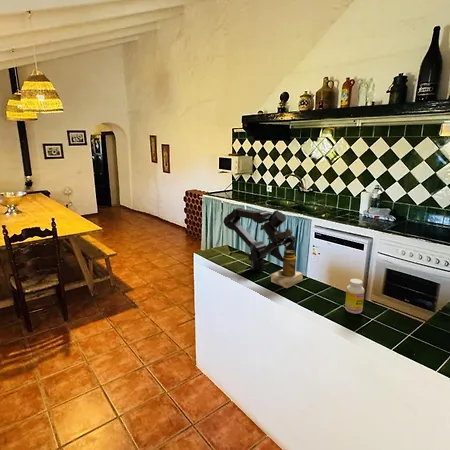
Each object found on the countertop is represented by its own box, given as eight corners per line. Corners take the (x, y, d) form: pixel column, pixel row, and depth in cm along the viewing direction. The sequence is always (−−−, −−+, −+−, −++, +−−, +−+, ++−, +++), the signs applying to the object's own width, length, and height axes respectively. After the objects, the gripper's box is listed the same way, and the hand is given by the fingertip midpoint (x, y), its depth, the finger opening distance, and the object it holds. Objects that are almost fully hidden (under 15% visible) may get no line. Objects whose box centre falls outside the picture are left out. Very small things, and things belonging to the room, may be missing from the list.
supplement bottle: (355, 316, 126) (358, 286, 122) (341, 308, 131) (343, 280, 128) (365, 311, 129) (368, 281, 126) (351, 304, 134) (354, 276, 131)
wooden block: (271, 281, 158) (271, 274, 157) (286, 274, 165) (286, 267, 164) (287, 288, 150) (287, 280, 149) (302, 280, 158) (302, 273, 157)
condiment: (296, 277, 152) (297, 253, 149) (278, 277, 153) (279, 253, 150) (294, 271, 159) (295, 248, 156) (277, 271, 160) (278, 248, 157)
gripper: (268, 227, 147) (287, 255, 142) (293, 220, 159) (311, 246, 154) (256, 239, 155) (273, 267, 150) (281, 232, 167) (297, 257, 162)
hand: (289, 259), depth 154 cm, fingers open, 9 cm apart
